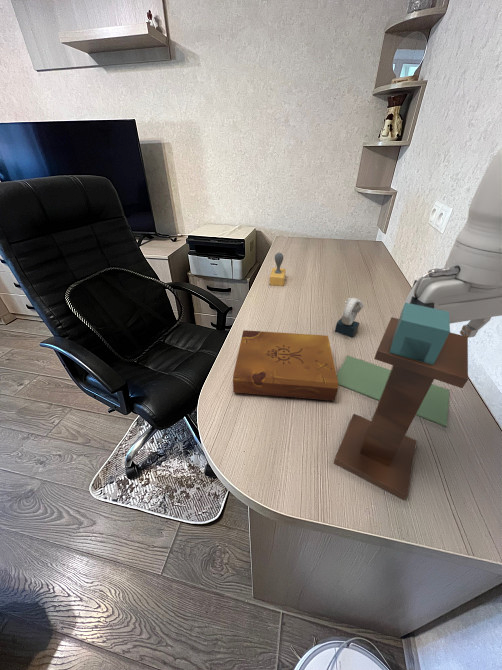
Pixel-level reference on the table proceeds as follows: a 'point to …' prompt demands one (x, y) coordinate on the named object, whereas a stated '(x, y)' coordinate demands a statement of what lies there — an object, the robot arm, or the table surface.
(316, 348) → the diary
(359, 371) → the mat
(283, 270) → the rubber stamp
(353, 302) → the watch
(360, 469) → the stand
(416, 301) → the teal headed hammer
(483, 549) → the table surface
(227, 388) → the table surface
